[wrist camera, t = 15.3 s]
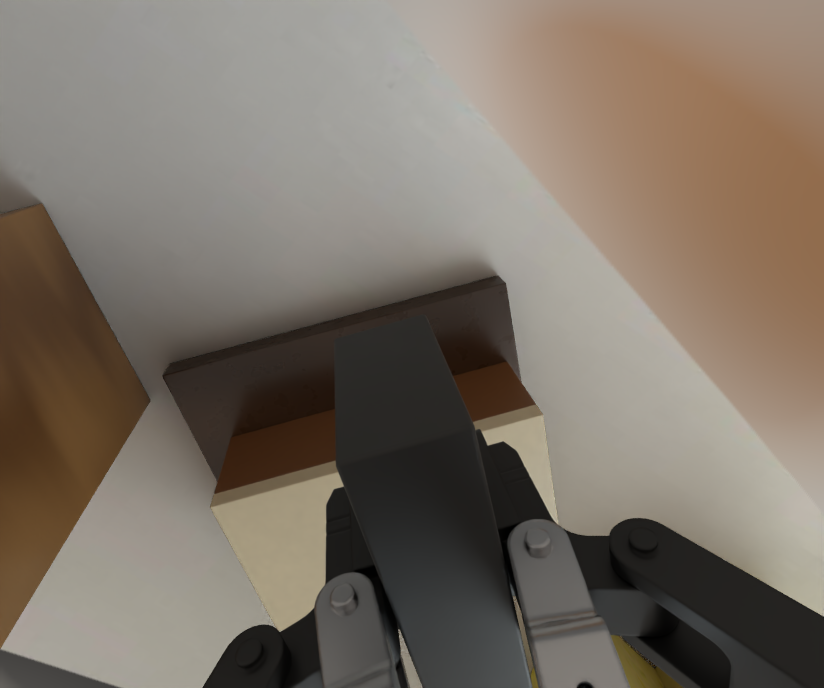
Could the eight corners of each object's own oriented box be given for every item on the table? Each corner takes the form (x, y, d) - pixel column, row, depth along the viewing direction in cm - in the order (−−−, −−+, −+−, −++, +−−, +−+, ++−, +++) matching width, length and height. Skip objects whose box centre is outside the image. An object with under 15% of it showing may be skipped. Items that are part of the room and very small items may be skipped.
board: (169, 363, 30) (161, 375, 29) (498, 274, 31) (506, 282, 29) (283, 588, 39) (282, 606, 38) (537, 517, 40) (545, 531, 38)
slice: (436, 380, 31) (457, 437, 26) (507, 360, 31) (543, 414, 26) (465, 500, 36) (489, 571, 30) (527, 483, 36) (562, 550, 31)
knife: (332, 338, 13) (334, 465, 8) (425, 312, 13) (475, 425, 9) (480, 765, 23) (517, 929, 18) (532, 749, 23) (582, 910, 18)
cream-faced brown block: (230, 436, 31) (209, 507, 26) (359, 401, 31) (364, 464, 26) (285, 551, 35) (277, 632, 30) (398, 520, 36) (410, 594, 30)
